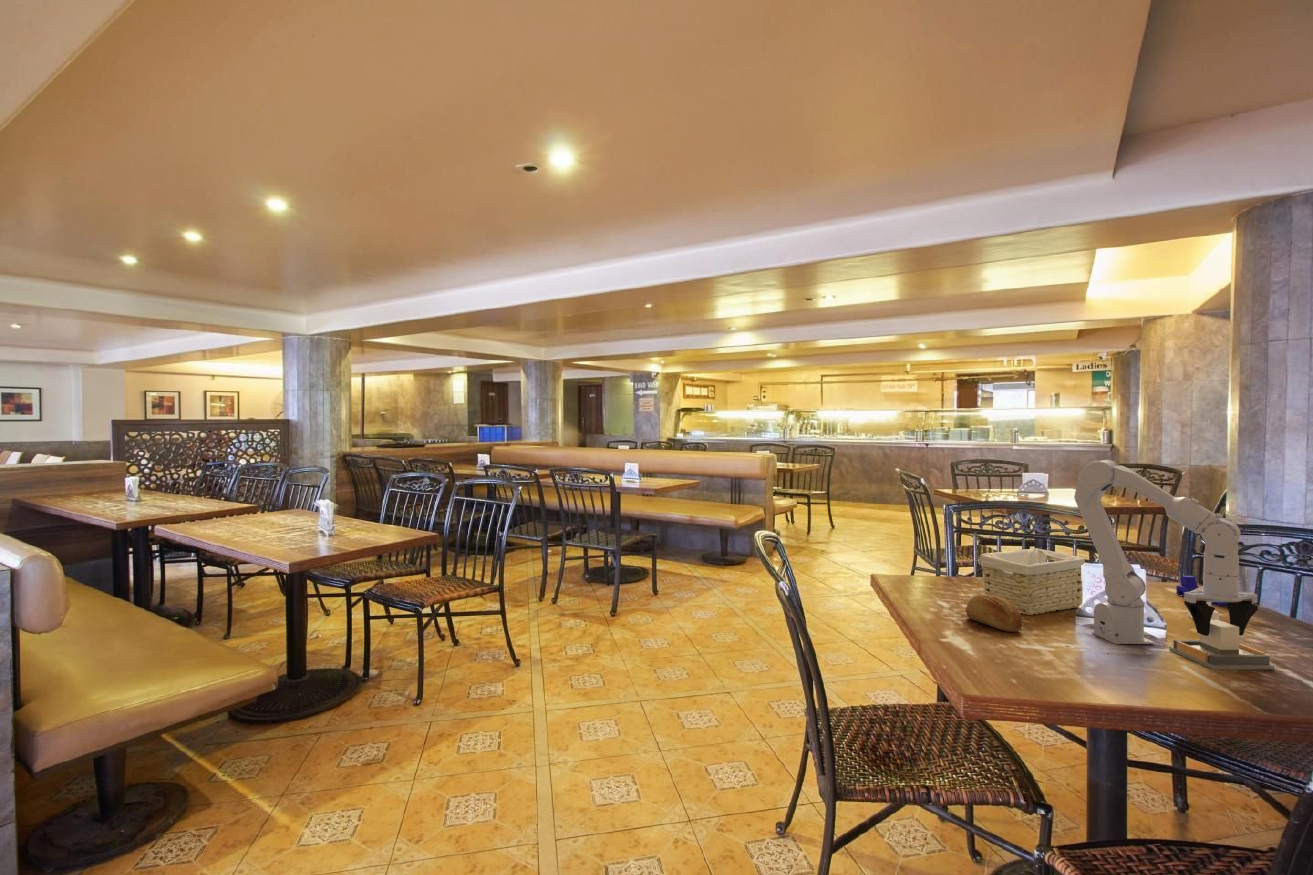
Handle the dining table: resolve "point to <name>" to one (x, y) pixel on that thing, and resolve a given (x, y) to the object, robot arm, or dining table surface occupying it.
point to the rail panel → (1222, 657)
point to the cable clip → (1191, 588)
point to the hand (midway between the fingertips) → (1219, 634)
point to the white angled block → (1215, 614)
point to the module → (1221, 638)
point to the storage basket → (1034, 579)
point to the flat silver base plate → (1241, 652)
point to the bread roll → (994, 612)
